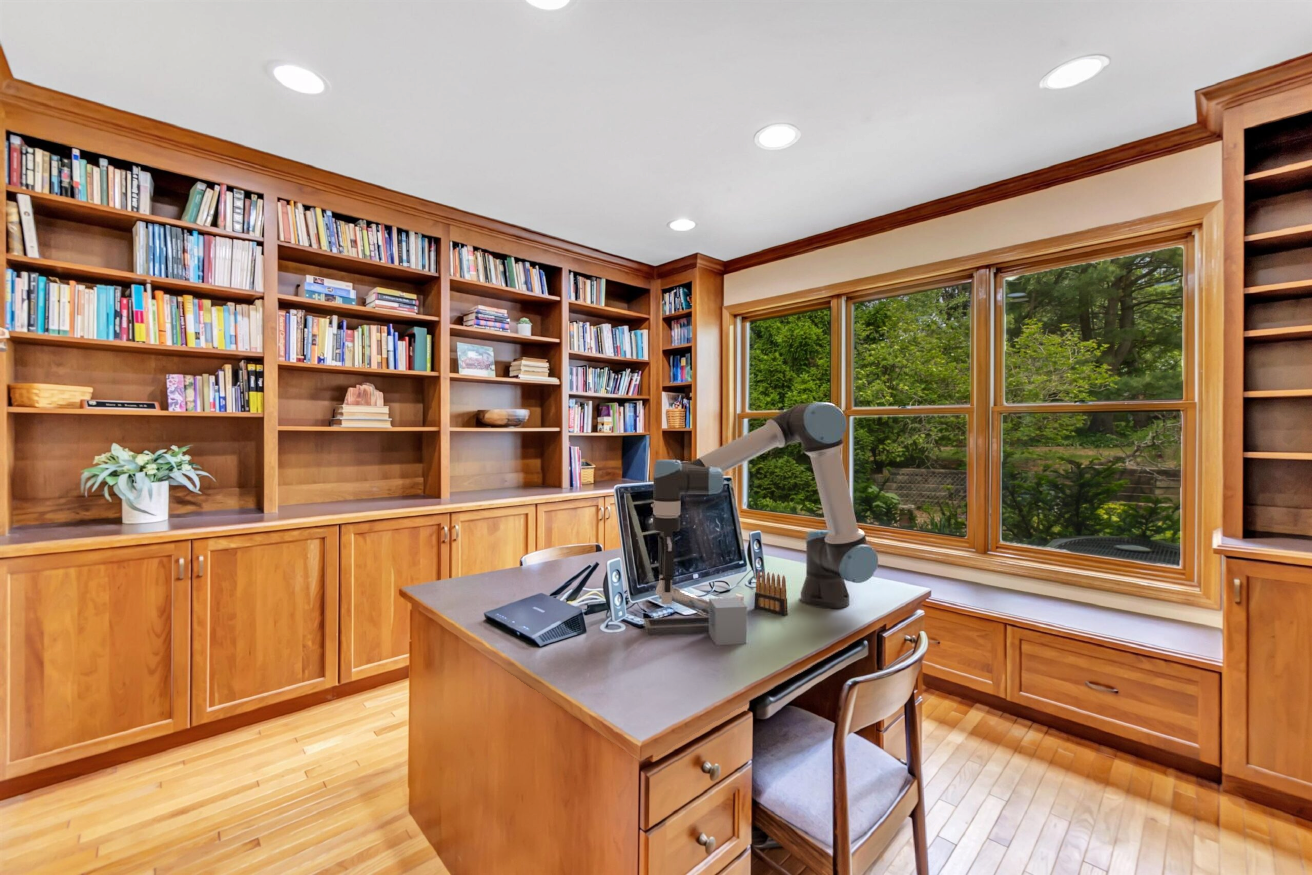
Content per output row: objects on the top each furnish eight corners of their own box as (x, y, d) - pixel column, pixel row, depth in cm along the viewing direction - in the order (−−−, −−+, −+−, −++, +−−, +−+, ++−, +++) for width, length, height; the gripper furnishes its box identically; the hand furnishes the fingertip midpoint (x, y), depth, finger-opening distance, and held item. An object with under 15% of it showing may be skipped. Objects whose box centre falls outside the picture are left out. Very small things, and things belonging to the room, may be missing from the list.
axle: (706, 612, 155) (711, 600, 155) (708, 618, 151) (714, 605, 151) (654, 591, 153) (660, 578, 153) (656, 596, 149) (661, 583, 149)
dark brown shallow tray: (717, 622, 157) (717, 615, 157) (724, 631, 150) (724, 624, 150) (644, 625, 154) (644, 618, 154) (647, 634, 147) (647, 627, 147)
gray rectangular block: (737, 632, 149) (737, 597, 149) (746, 643, 141) (746, 606, 141) (708, 633, 148) (709, 598, 148) (716, 644, 140) (716, 607, 140)
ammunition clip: (753, 608, 170) (754, 569, 170) (757, 607, 172) (757, 568, 172) (784, 616, 163) (784, 576, 163) (787, 615, 164) (788, 575, 164)
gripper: (649, 511, 159) (648, 592, 159) (657, 520, 142) (655, 611, 142) (674, 511, 160) (673, 591, 160) (685, 520, 143) (684, 610, 143)
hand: (665, 600), depth 151 cm, fingers closed on axle, 4 cm apart
